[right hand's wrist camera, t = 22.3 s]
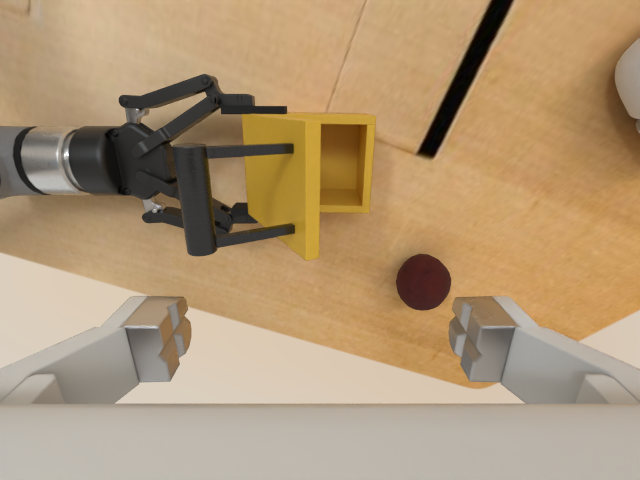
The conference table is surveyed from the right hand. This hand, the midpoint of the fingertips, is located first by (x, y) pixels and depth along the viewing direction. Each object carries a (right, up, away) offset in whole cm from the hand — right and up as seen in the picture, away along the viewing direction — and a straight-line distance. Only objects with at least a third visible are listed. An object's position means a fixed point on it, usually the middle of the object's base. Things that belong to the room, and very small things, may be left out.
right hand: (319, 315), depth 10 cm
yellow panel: (-3, +8, +20) cm, 21 cm away
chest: (-1, +13, +34) cm, 36 cm away
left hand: (-4, +11, +27) cm, 30 cm away
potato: (+14, -2, +40) cm, 43 cm away
